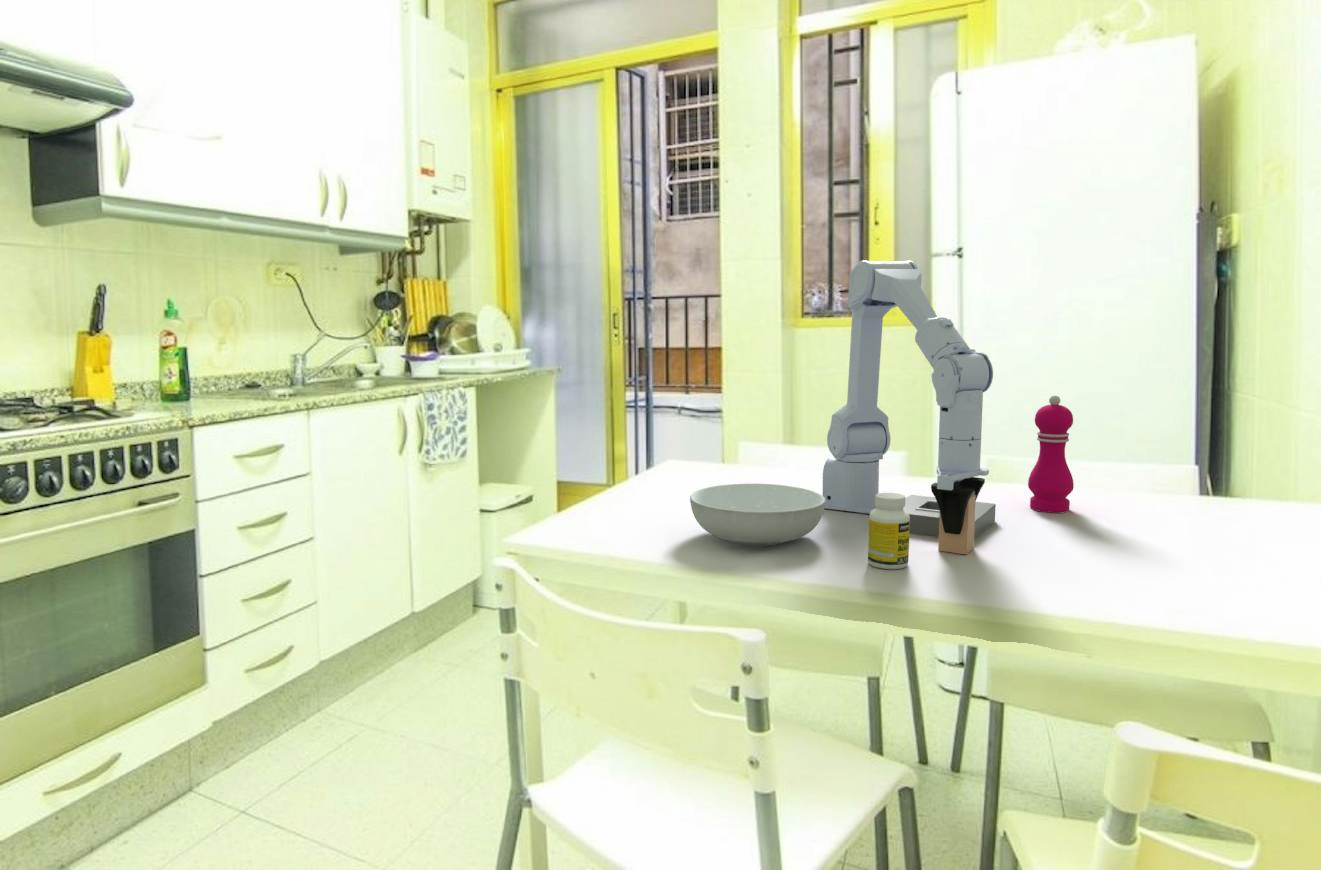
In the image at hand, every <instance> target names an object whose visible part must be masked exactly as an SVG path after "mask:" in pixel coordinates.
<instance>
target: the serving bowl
mask: <svg viewBox="0 0 1321 870" xmlns="http://www.w3.org/2000/svg"><path fill="white" fill-rule="evenodd" d="M689 501H690V507H691V511H692V514H693V517H694V518H695V521H696V523H698V525H699V526H700V527H701V528H702V529H703V530H704V531H706V532H707V533H709V534H711V535H712V536H714V537H717V538H719V539H721V540H724V541H725V540H726V541H728V542H733V543H735V544H740V545H744V546H750V547H751V546H754V547H755V546H756V547H761V546H762V547H763V546H765V547H766V546H773V545H778V544H782V543H786V542H791V541H794V540H798V539H800V538H802V537H803V538H804V537H805V536H806V535H808V534H809V533H811V532H812V531H813V530H815V528H816V527H817V526H818V525H819V523H820V522H821V519H822V518H823V514H824V511H825V508H824V507H825V501H826V500H825V498H824V497H823V494H821V493H818V492H816V491H814V490H811V489H807V488H803V487H797V486H792V485H784V484H783V485H782V484H772V483H732V484H731V483H730V484H728V483H727V484H722V485H721V484H719V485H714V486H713V485H712V486H708V487H705V488H704V487H703V488H701V489H699V490H696V491H694V492H692V493H691V494H690V496H689Z"/></svg>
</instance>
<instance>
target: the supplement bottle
mask: <svg viewBox="0 0 1321 870" xmlns="http://www.w3.org/2000/svg"><path fill="white" fill-rule="evenodd" d="M905 498H906V495H905V494H901V493H896V492H880V493H879V492H878V494H876V495H875V505H876V506H877V508H876V509H874V510H872V511H871V512H870V514H869V515H868V516H869V517H868V518H869V519H868V545H867V546H868V547H867V548H868V549H867V550H868V551H867V562H868V564H869V565H871V567H874V568H876V569H883V570H901V569H904V568H906V567H907V566H908V565H909V553H910V552H909V550H910V533H909V530H910V516H909V514H908V513H907V512H906V511H904V510H903V507H905Z"/></svg>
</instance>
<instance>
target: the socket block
mask: <svg viewBox="0 0 1321 870" xmlns="http://www.w3.org/2000/svg"><path fill="white" fill-rule="evenodd" d="M996 506H997V505H996V503H993V502H992V503H990V502H984V501H983V502H981V501H976V502H975V528H974V541H976V539H977V538H979V537H980V536H981V535H982V534H983V533H984V532H985V531H987V529H989V528H990V527H991V526H992V525H993V524H994V523H995V522H996ZM903 510H904V511H906V512H907V513H908V514H909V516H910V530H909V534H918V535H924V536H925V535H926V536H930V537H931V536H934V537H939V512H940V509H939V506H938V503H937V500H936V498H935V496H934V497H933V496H926V495H925V496H924V495H916V494H910V495H908V496H907V497H905V507H903Z"/></svg>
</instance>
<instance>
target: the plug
mask: <svg viewBox="0 0 1321 870" xmlns="http://www.w3.org/2000/svg"><path fill="white" fill-rule="evenodd" d="M975 501H976V502H977V499H976V495H975V491H973V493H972V495H971V496H970V499H969V501H968V504H967V507H966V511H965V516H964V522H963V527H962V530H961V533H960V534H959V535H958V534H950V533H945V531H944V528H943V523H942V518H941V513H940V512H939V536H938V547H937V548H938V549H937V550H938V551H940V552H946V553H954V554H960V555H968V554H969V553H970V552H971V551H972V550H973V549H974V548H975V546H974V545H975V540H974V528H975Z"/></svg>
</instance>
